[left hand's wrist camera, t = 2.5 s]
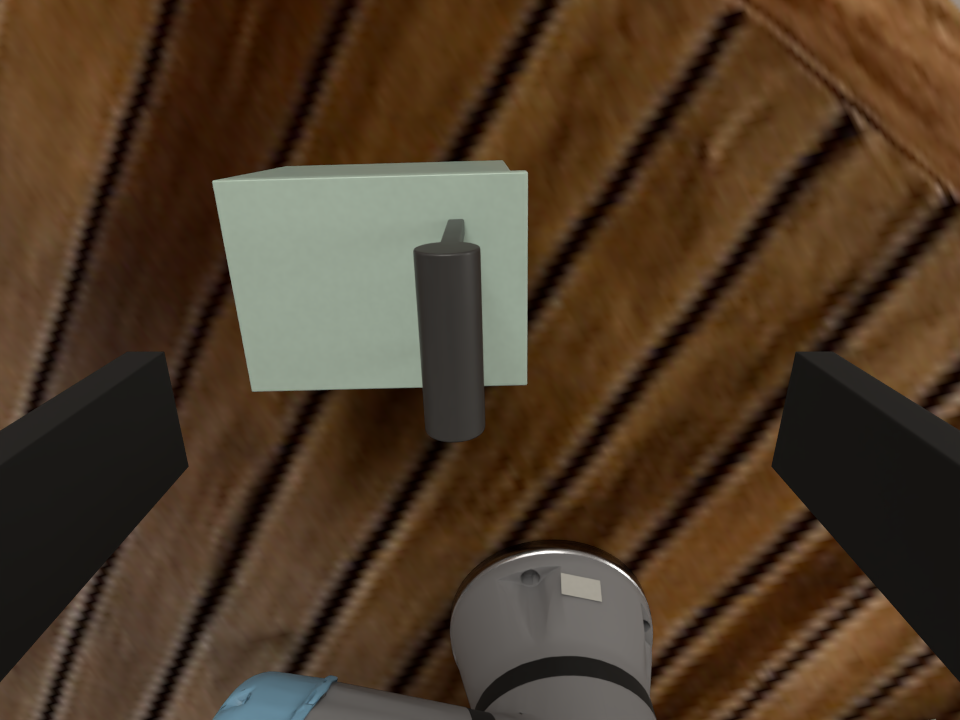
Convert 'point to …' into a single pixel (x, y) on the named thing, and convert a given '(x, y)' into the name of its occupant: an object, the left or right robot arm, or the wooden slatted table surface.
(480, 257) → the lid
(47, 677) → the wooden slatted table surface
